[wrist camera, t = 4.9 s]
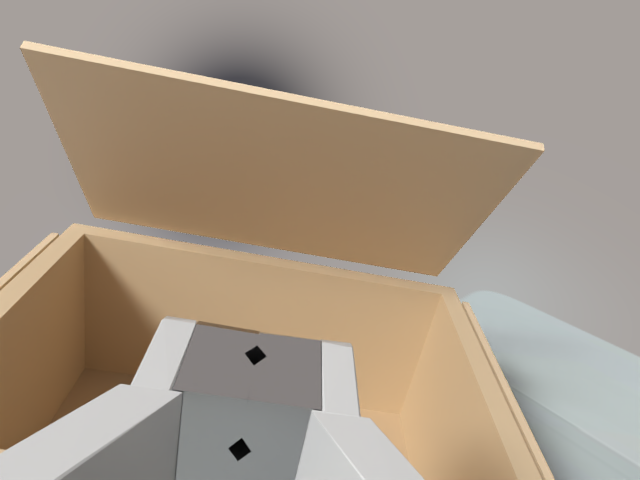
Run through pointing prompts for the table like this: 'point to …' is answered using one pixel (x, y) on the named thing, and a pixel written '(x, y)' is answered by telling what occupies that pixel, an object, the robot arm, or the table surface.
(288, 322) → the carton
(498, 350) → the table surface
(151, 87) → the flap
